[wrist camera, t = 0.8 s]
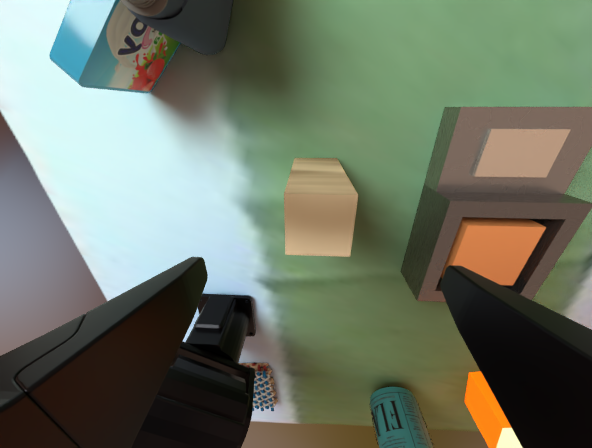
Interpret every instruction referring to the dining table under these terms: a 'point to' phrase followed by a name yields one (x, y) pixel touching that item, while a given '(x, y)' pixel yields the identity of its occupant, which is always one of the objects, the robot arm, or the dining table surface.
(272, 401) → the woven mat
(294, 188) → the tan wooden block
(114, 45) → the yogurt
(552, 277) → the dining table surface
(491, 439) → the orange juice
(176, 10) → the vaping device
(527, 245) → the button
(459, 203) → the box
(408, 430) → the beverage bottle
